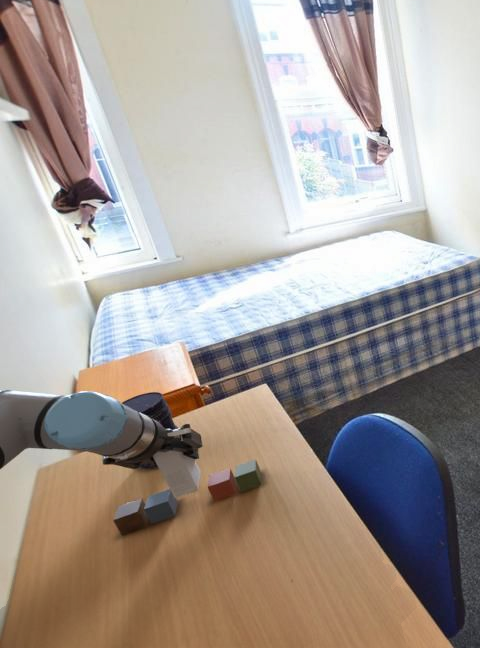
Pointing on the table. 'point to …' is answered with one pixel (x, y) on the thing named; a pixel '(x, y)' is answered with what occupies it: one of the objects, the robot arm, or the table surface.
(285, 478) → the table surface
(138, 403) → the storage jar
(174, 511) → the block
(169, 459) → the cosmetic box
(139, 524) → the block
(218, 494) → the block
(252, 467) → the block
